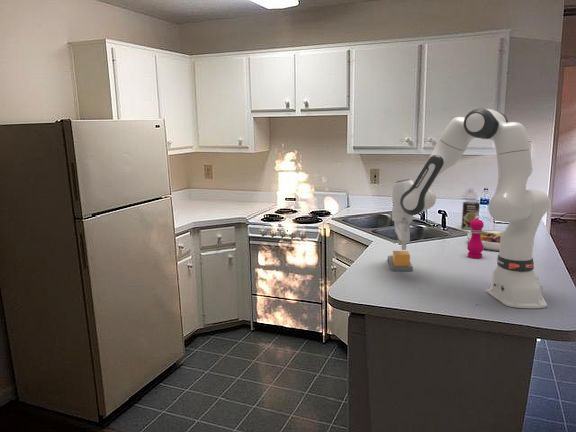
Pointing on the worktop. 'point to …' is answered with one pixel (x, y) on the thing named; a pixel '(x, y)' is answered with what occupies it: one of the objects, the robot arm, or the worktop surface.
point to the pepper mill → (475, 239)
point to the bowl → (489, 239)
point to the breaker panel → (398, 268)
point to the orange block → (401, 258)
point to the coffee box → (469, 214)
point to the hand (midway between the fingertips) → (402, 247)
